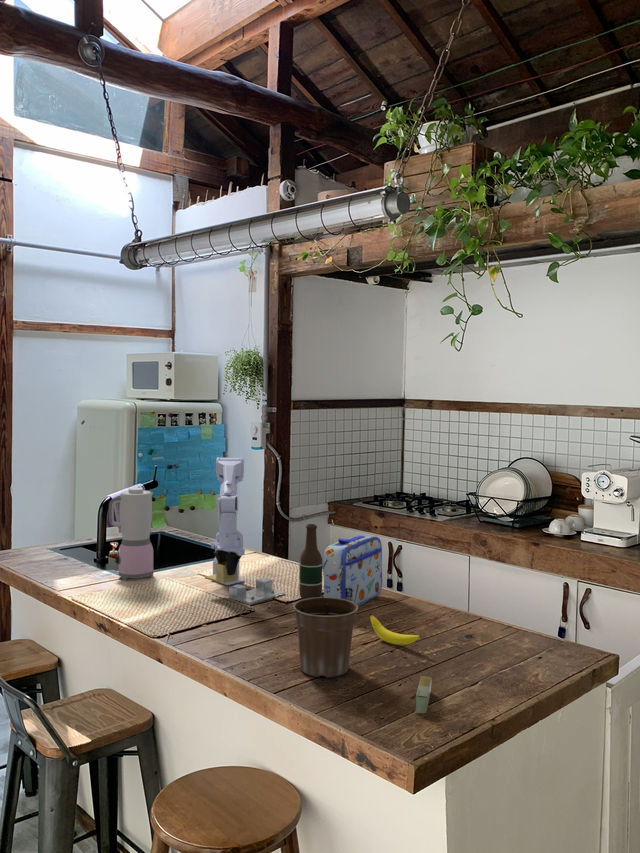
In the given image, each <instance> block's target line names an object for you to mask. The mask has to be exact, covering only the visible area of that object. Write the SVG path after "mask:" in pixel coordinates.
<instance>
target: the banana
mask: <svg viewBox="0 0 640 853" xmlns="http://www.w3.org/2000/svg"><path fill="white" fill-rule="evenodd" d="M368 614H369V616H370V622H371V626H372V627H373V628H372V629H373V630H374V632H375V634H376V635H377V636H378V638H379V639H381V641H384V642H385V643H387V644H392V645H398V646H406V645H407V646H408V645H411V644H413V643H415V642H416V641H418V640H419V639H420V637H421V636H420V635H417V634H401V633H398V632H394V631H391V630H389V629H387V628H386V627H385V626H383V625H382V624H381V622H380V620H378V619H377V617H375V616H373V613H368Z"/></svg>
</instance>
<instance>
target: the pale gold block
mask: <svg viewBox="0 0 640 853" xmlns="http://www.w3.org/2000/svg"><path fill="white" fill-rule="evenodd" d="M204 579H205V580H208V581H212V582H215V581H216V582H215V583H218V582H219V584H222V583H223V584H222V585H225V584H224V583H228V582H231V581H235V580H238V576H237V567H236V571H235V574H234V575H229V574H228V564H227V561H225V562H220V563H216V574H214V575H213V574H209V575H206V576H204Z"/></svg>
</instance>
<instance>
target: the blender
mask: <svg viewBox="0 0 640 853" xmlns="http://www.w3.org/2000/svg"><path fill="white" fill-rule="evenodd" d="M153 495H154V492H153V491H149V490H144V488H143V487H130V488H128V490H125V491H122V492H120V494H119V497H114V498H112V499H111V500H110V501H109V503H108V518H109V520H108V521H109V525H110V526H111V527H116V528H117V527H118V528H120V529H121V530H120V531H121V537H122V540H121V544H120V545H119V548H118V554H117V555H116V556H115V557H114V558H115V564H118V576H120V577H121V580H122V581H125V582H126V581H128V578H129V579H130V578H131V579H136V578H137V579H138V578H139V579H140V578H146V577H148V578H149V579H152V578H153V577H154V571H155V570H154V548H153V544H152V542H151V539H150V536H151V530H152V522H153V501H152V500H153V499H152V498H153ZM117 503H119V521H115V504H117Z"/></svg>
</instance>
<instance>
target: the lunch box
mask: <svg viewBox="0 0 640 853" xmlns="http://www.w3.org/2000/svg"><path fill="white" fill-rule="evenodd" d="M337 540H338V541H337V542H335V543H333V544H330V545H328V546H327V547H326V548H325V550H324V551H323V555H322V573H323V597H332V598H340V599H345V600H349V601H352V602H354V603H355V604H357V605H358V607H359V606H361V605H364V604H366V603H367V602H369V601H371V600H372V599H374V598H375V597H377V596H378V595H380V593H381V591H382V587H383V568H382V566H383V565H382V564H383V563H382V560H383V559H382V557H383V546H382V545H383V544H382V541H381V539H380V538H379V537H378V536H365V535H355V536H352V537H350V538H345V539H344V538H341V537H340V538H338V539H337Z"/></svg>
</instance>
